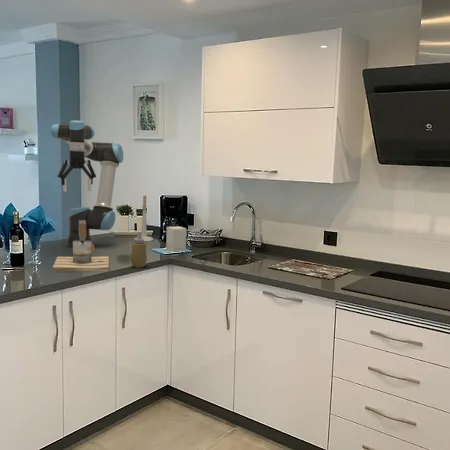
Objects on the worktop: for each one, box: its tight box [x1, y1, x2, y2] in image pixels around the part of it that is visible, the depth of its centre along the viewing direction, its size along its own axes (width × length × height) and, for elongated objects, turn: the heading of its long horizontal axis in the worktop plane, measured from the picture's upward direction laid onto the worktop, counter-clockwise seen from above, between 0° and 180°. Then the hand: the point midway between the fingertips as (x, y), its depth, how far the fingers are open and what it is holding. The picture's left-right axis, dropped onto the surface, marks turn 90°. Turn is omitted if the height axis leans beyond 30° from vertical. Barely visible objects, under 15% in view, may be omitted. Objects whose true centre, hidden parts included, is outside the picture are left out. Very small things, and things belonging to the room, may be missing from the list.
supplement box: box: [165, 226, 187, 252], centre depth 302 cm, size 9×9×15 cm
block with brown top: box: [72, 220, 95, 255], centre depth 257 cm, size 10×12×16 cm
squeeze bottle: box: [130, 231, 148, 268], centre depth 261 cm, size 8×8×18 cm
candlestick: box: [133, 195, 154, 242], centre depth 337 cm, size 13×13×30 cm
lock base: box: [52, 253, 110, 273], centre depth 258 cm, size 26×26×6 cm
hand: (77, 191), depth 271 cm, fingers open, 13 cm apart
